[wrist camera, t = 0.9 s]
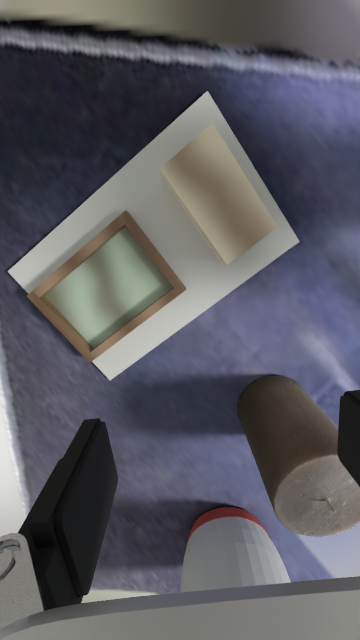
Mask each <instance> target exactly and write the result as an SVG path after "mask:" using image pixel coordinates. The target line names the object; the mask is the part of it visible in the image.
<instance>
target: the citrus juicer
mask: <svg viewBox="0 0 360 640" xmlns="http://www.w3.org/2000/svg"><path fill="white" fill-rule="evenodd" d="M279 583H290V579H289V577H288V574H287V571H286V569H285V566H284V564H283V562H282V560H281V558H280V556H279V554H278V552H277V550H276V548H275V546H274V545H273V543H272V541H271V540H270V538H269V535H268V533H267V532H266V530H265V529H264V528H263V526H262V525H261V523H260V522H259V521H258V520H257V518H256V517H254V516H253V515H252V514H251V513H249V512H247V511H245V510H243V509H239V508H234V507H222V508H217V509H213V510H210V511H208V512H206V513H204V514H203V515H201V516H200V517H199V518H198V519H197V520H196V521H195V523H194V524H193V526H192V529H191V532H190V535H189V537H188V541H187V544H186V551H185V556H184V561H183V569H182V577H181V593H182V592H192V591H202V590H213V589H223V588H234V587H245V586H257V585H268V584H279Z"/></svg>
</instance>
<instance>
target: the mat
mask: <svg viewBox="0 0 360 640" xmlns="http://www.w3.org/2000/svg"><path fill="white" fill-rule="evenodd" d="M212 122H213V124H214V125H215V127H216V129H217V130H218V132H219V133H220V135H221V137H222V138H223V140H224V142H225V143H226V145H227V146H228V148H229V150H230V151H231V153H232V154H233V156H234V158H235V159H236V161H237V162H238V164H239V166H240V167H241V169H242V170H243V172H244V174H245V175H246V177H247V178H248V180H249V182H250V183H251V185H252V186H253V188H254V190H255V191H256V193H257V194H258V196H259V198H260V199H261V201H262V202H263V204H264V206H265V207H266V209H267V210H268V212H269V214H270V215H271V217H272V218H273V220H274V222H275V223H276V225H277V226H278V227H277V228H276V229H275V230H273V231H272V232H271V233H269V234H268V235H267V236H265V237H264V238H263V239H261V240H260V241H259V242H257V243H256V244H255V245H253V246H252V247H251V248H249V249H248V250H247V251H245V252H244V253H243V254H242V255H240V256H239V257H238V258H236V259H235V260H234V261H232V262H231V263H230V264H228V265H226V264H223V263H221V262H220V261H219V259H218V258H217V256H216V255H215V254H214V252H213V251H212V249H211V248H210V246H209V245H208V244H207V242H206V241H205V239H204V238H203V237H202V235H201V234H200V232H199V231H198V230H197V228H196V227H195V225H194V224H193V222H192V221H191V220H190V218H189V217H188V215H187V214H186V213H185V211H184V210H183V208H182V207H181V205H180V204H179V203H178V201H177V200H176V198H175V197H174V196H173V194H172V193H171V191H170V190H169V189H168V187H167V186H166V184H165V183H164V181H163V180H162V176H161V172H160V168H161V167H162V166H163V165H165V164H166V163H167V162H168V161H169V160H170V159H171V158H173V157H174V156H175V155H176V154H177V153H178V152H179V151H181V150H182V149H183V148H184V147H185V146H186V145H187V144H189V143H190V142H191V141H192V140H193V139H194V138H195V137H197V136H198V135H199V134H200V133H201V132H202V131H203V130H205V129H206V128H207V127H208V126H209V125H210V124H211V123H212ZM125 210H126V211H128V212H129V214H130V215H131V216H132V218H133V219H134V220H135V221H136V223H137V224H138V225H139V227H140V228H141V229H142V231H143V232H144V233H145V235H146V236H147V237H148V238H149V240H150V241H151V242H152V244H153V245H154V246H155V248H156V249H157V250H158V252H159V253H160V254H161V255H162V257H163V258H164V259H165V261H166V262H167V263H168V265H169V266H170V267H171V269H172V270H173V271H174V273H175V274H176V275H177V276H178V278H179V279H180V280H181V282H182V283H183V284H184V286H185V287H186V290H185V291H184V292H183V293H181V294H180V295H179V296H177V297H176V298H175V299H173V300H172V301H171V302H169V303H168V304H167V305H165V306H164V307H163V308H161V309H160V310H159V311H158V312H156V313H155V314H154V315H152V316H151V317H150V318H148V319H147V320H146V321H144V322H143V323H142V324H140V325H139V326H138V327H137V328H135V329H134V330H133V331H131V332H130V333H129V334H127V335H126V336H125V337H123V338H122V339H121V340H119V341H118V342H117V343H115V344H114V345H113V346H112V347H110V348H109V349H108V350H106V351H105V352H104V353H102V354H101V355H100V356H98V357H97V358H96V359H94V360H93V361H92V362H93V363H94V364H95V365H96V366H97V367H98V368H99V369H100V370H101V372H102V373H103V374H104V375H105V376H106V377H107V378H108V379H109V380H111V379H113V378H114V377H115V376H117V375H118V374H119V373H121V372H122V371H124V370H125V369H126V368H128V367H129V366H130V365H132V364H133V363H134V362H136V361H137V360H139V359H140V358H141V357H143V356H144V355H145V354H147V353H148V352H149V351H151V350H152V349H154V348H155V347H156V346H158V345H159V344H160V343H162V342H163V341H164V340H166V339H167V338H169V337H170V336H171V335H173V334H174V333H175V332H177V331H178V330H179V329H181V328H182V327H184V326H185V325H186V324H188V323H189V322H190V321H192V320H193V319H194V318H196V317H197V316H199V315H200V314H201V313H203V312H204V311H205V310H207V309H208V308H209V307H211V306H212V305H214V304H215V303H216V302H218V301H219V300H220V299H222V298H223V297H225V296H226V295H227V294H229V293H230V292H231V291H233V290H234V289H235V288H237V287H238V286H240V285H241V284H242V283H244V282H245V281H246V280H248V279H249V278H250V277H252V276H253V275H255V274H256V273H257V272H259V271H260V270H261V269H263V268H264V267H265V266H267V265H268V264H270V263H271V262H272V261H274V260H275V259H276V258H278V257H279V256H280V255H282V254H283V253H285V252H286V251H287V250H289V249H290V248H291V247H293V246H294V245H295V244H297V243H298V242H300V241H299V240H298V238H297V236H296V235H295V233H294V232H293V230H292V228H291V227H290V225H289V223H288V222H287V220H286V218H285V217H284V215H283V214H282V212H281V210H280V209H279V207H278V205H277V204H276V202H275V200H274V199H273V197H272V196H271V194H270V192H269V191H268V189H267V187H266V186H265V184H264V182H263V181H262V179H261V178H260V176H259V174H258V173H257V171H256V169H255V168H254V166H253V164H252V163H251V161H250V160H249V158H248V156H247V155H246V153H245V151H244V150H243V148H242V146H241V145H240V143H239V142H238V140H237V138H236V137H235V135H234V133H233V132H232V130H231V128H230V127H229V125H228V124H227V122H226V120H225V119H224V117H223V115H222V114H221V112H220V110H219V109H218V107H217V106H216V104H215V102H214V101H213V99H212V97H211V96H210V94H209V92H208V91H207V92H206V93H204V94H203V95H202V96H201V97H200V98H199V99H198V100H197V101H196V102H195V103H193V104H192V105H191V106H190V107H189V108H188V109H187V110H186V111H185V112H183V113H182V114H181V115H180V116H179V117H178V118H177V119H176V120H175V121H174V122H172V123H171V124H170V125H169V126H168V127H167V128H166V129H165V130H164V131H162V132H161V133H160V134H159V135H158V136H157V137H156V138H155V139H154V140H152V141H151V142H150V143H149V144H148V145H147V146H146V147H145V148H144V149H143V150H141V151H140V152H139V153H138V154H137V155H136V156H135V157H134V158H133V159H131V160H130V161H129V162H128V163H127V164H126V165H125V166H124V167H123V168H122V169H120V170H119V171H118V172H117V173H116V174H115V175H114V176H113V177H112V178H110V179H109V180H108V181H107V182H106V183H105V184H104V185H103V186H102V187H101V188H99V189H98V190H97V191H96V192H95V193H94V194H93V195H92V196H91V197H89V198H88V199H87V200H86V201H85V202H84V203H83V204H82V205H81V206H79V207H78V208H77V209H76V210H75V211H74V212H73V213H72V214H71V215H70V216H68V217H67V218H66V219H65V220H64V221H63V222H62V223H61V224H60V225H58V226H57V227H56V228H55V229H54V230H53V231H52V232H51V233H50V234H49V235H47V236H46V237H45V238H44V239H43V240H42V241H41V242H40V243H39V244H37V245H36V246H35V247H34V248H33V249H32V250H31V251H30V252H29V253H28V254H26V255H25V256H24V257H23V258H22V259H21V260H20V261H19V262H18V263H16V264H15V265H14V266H13V267H12V268H11V269H10V270H9V271H8V273H9V274H10V275H11V276H12V277H13V278H14V279H15V280H16V281H17V282H18V283H19V284H20V285H21V286H22V288H23V289H24V290H25V291H26V292H27V293H28V294H29V293H30V292H32V291H33V290H34V289H35V288H36V287H37V286H38V285H40V284H41V283H42V282H43V281H44V280H45V279H47V278H48V277H49V276H50V275H51V274H52V273H53V272H55V271H56V270H57V269H58V268H59V267H60V266H62V265H63V264H64V263H65V262H66V261H67V260H68V259H70V258H71V257H72V256H73V255H74V254H75V253H77V252H78V251H79V250H80V249H81V248H82V247H84V246H85V245H86V244H87V243H88V242H89V241H90V240H92V239H93V238H94V237H95V236H96V235H97V234H99V233H100V232H101V231H102V230H103V229H104V228H105V227H107V226H108V225H109V224H110V223H111V222H112V221H114V220H115V219H116V218H117V217H118V216H119V215H120V214H122V213H123V212H124V211H125Z"/></svg>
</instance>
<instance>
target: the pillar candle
mask: <svg viewBox="0 0 360 640" xmlns="http://www.w3.org/2000/svg"><path fill="white" fill-rule="evenodd" d="M238 416H239V418H240V421H241V424H242V427H243V429H244V432H245V434H246V437H247V440H248V443H249V445H250V448H251V451H252V454H253V456H254V458H255V461H256V464H257V466H258V469H259V472H260V474H261V477H262V480H263V483H264V485H265V488H266V491H267V494H268V496H269V499H270V501H271V504H272V506H273V509H274V512H275V514H276V516H277V518H278V520H279V521H280V522H281V523H282V524H283V525H284V526H285V527H286V528H288V529H289V530H291V531H293V532H295V533H297V534H301V535H306V536H316V537H317V536H318V537H322V536H328V535H338V534H340V533H341V532H345V531H348V530H350V529H352V528H353V527H355V526H356V524H358V523H359V522H360V487H359V486H358V484H357V483H356V482H355V480H354V479H353V478H352V476H351V475H350V474H349V472H348V471H347V470H346V468H345V467H344V466H343V464H342V463H341V462H340V460H339V457H338V454H337V447H338V428H337V427H336V425H335V424H334V423H333V422H332V421H331V419H330V418H329V417H328V416H327V415H326V414H325V413H324V412H323V411H322V410H321V408H320V407H319V406H318V405H317V404H316V403H315V401H314V400H313V399H312V398H311V397H310V396H309V395H308V393H307V392H306V391H305V390H304V389H303V388H302V387H301V386H300V385H299V384H298V383H297V382H295V381H294V380H292V379H290V378H288V377H284V376H266V377H262V378H260V379H258V380H255V381H254V382H252V383H251V384H250V385H249V386H248V387H246V389H245V390H244V391H243V392H242V394H241V396H240V398H239V401H238Z"/></svg>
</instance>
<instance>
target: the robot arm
mask: <svg viewBox="0 0 360 640" xmlns="http://www.w3.org/2000/svg"><path fill="white" fill-rule="evenodd" d="M337 454H338V457H339V460H340V462H341V463H342V464H343V466H344V467H345V468H346V470H347V471H348V472H349V474H350V475H351V476H352V478H353V479H354V480H355V482H356V483H357V484H358V486H359V487H360V390H355V391H346V392H345V393H344V396H341V398H340V411H339V429H338V447H337ZM117 482H118V476H117V471H116V466H115V462H114V458H113V454H112V449H111V445H110V441H109V437H108V432H107V428H106V424H105V422H101V420H100V419H99V418H97V419H87V420H84V421H83V422H82V424H81V426H80V428H79V430H78V432H77V433H76V435H75V437H74V439H73V441H72V442H71V444H70V446H69V448H68V450H67V451H66V453H65V455H64V457H63V458H62V459H60V460H59V462H58V463H57V465H56V466H55V468H54V470H53V472H52V473H51V475H50V477H49V479H48V480H47V482H46V484H45V486H44V488H43V489H42V491H41V493H40V495H39V496H38V498H37V500H36V502H35V503H34V505H33V507H32V509H31V511H30V512H29V514H28V516H27V518H26V519H25V521H24V523H23V525H22V527H21V528H20V530H19V532H18V533H11V534H8V535H4V536H2V537H0V640H360V577H348V578H336V579H324V580H313V581H301V582H290V583H279V584H268V585H257V586H245V587H234V588H223V589H213V590H202V591H192V592H182V593H171V594H161V595H150V596H140V597H131V598H122V599H115V600H106V601H97V602H89V603H81V602H82V598H83V595H87V594H88V593H89V590H90V587H91V583H92V580H93V576H94V572H95V568H96V564H97V560H98V556H99V553H100V549H101V545H102V541H103V537H104V533H105V530H106V526H107V522H108V518H109V514H110V510H111V506H112V503H113V499H114V495H115V491H116V487H117Z"/></svg>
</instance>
